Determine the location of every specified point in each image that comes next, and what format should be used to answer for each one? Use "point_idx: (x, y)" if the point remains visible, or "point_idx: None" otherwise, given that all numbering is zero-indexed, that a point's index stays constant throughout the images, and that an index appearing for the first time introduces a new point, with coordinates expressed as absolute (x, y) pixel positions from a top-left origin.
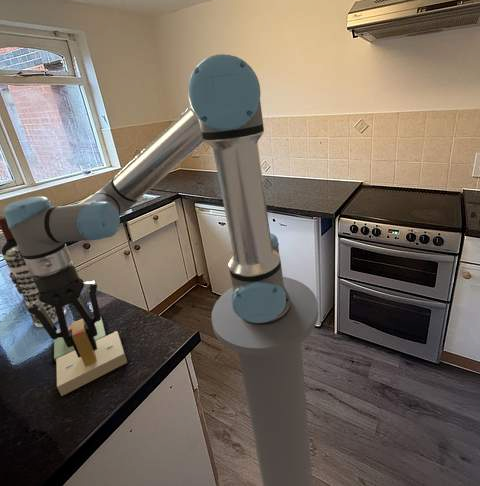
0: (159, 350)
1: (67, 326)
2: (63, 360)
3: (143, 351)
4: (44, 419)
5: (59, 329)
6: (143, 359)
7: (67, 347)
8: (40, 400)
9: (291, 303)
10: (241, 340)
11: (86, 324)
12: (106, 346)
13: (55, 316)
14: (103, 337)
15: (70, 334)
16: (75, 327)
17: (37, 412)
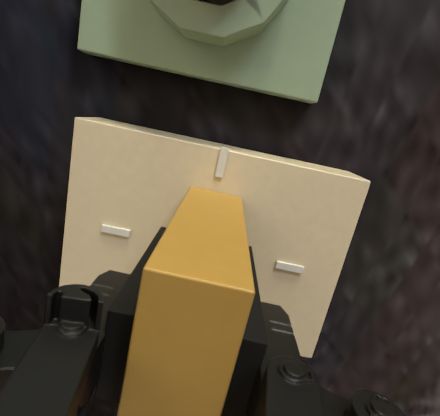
0: (407, 367)
1: (89, 361)
2: (101, 166)
3: (368, 323)
4: (27, 325)
5: (6, 374)
6: (345, 358)
7: (144, 14)
8: (19, 235)
9: None
10: None
11: (247, 365)
12: (280, 251)
13: None
14: (299, 167)
15: (109, 378)
16: (157, 373)
17: (9, 280)
